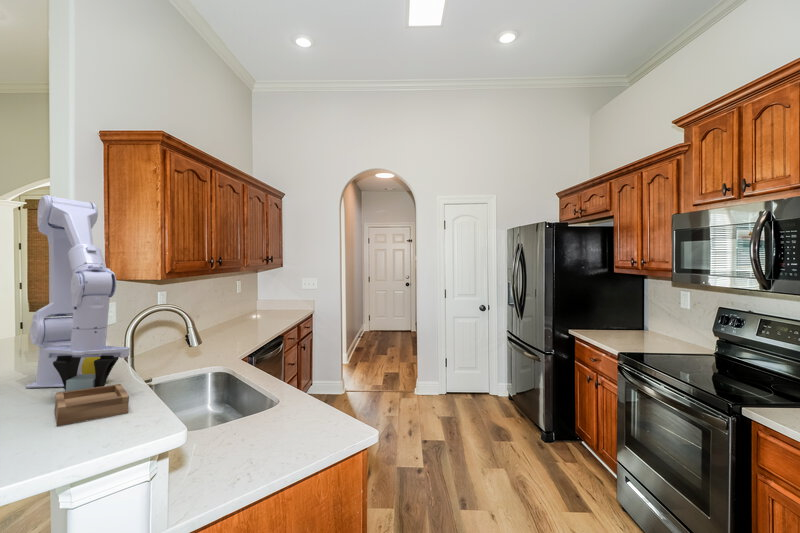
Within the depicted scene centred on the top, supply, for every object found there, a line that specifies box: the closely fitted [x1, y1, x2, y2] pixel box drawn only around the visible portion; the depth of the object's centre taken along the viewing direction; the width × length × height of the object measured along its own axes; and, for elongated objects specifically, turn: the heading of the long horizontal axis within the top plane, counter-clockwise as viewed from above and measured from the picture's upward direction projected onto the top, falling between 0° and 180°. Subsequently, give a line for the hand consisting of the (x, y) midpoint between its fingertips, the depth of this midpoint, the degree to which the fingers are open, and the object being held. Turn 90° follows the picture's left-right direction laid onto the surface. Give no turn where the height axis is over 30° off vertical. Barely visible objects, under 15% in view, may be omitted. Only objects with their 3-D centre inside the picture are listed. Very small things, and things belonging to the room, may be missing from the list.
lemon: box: [81, 357, 100, 374], centre depth 85 cm, size 6×6×8 cm
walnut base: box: [53, 383, 130, 427], centre depth 69 cm, size 10×10×3 cm
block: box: [66, 374, 95, 391], centre depth 76 cm, size 4×4×4 cm
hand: (84, 391), depth 76 cm, fingers closed on block, 4 cm apart
